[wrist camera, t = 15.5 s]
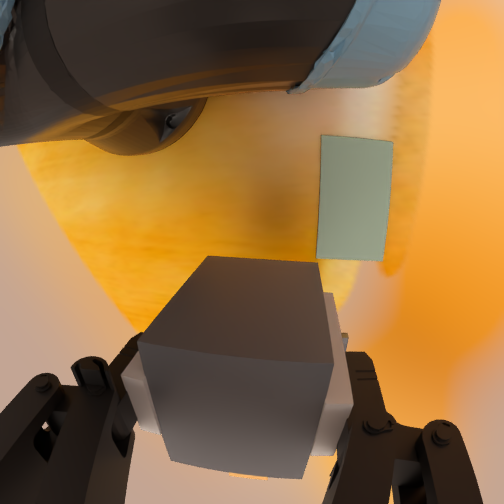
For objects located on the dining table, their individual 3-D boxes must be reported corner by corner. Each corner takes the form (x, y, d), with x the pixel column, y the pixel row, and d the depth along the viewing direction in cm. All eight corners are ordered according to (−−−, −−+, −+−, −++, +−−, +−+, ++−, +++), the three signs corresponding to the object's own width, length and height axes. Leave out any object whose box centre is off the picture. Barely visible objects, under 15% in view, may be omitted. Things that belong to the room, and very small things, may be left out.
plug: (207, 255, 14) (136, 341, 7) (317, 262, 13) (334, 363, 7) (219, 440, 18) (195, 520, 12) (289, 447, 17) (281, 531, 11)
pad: (321, 135, 26) (321, 135, 25) (392, 142, 25) (393, 142, 24) (316, 257, 30) (316, 258, 29) (381, 260, 29) (382, 261, 28)
